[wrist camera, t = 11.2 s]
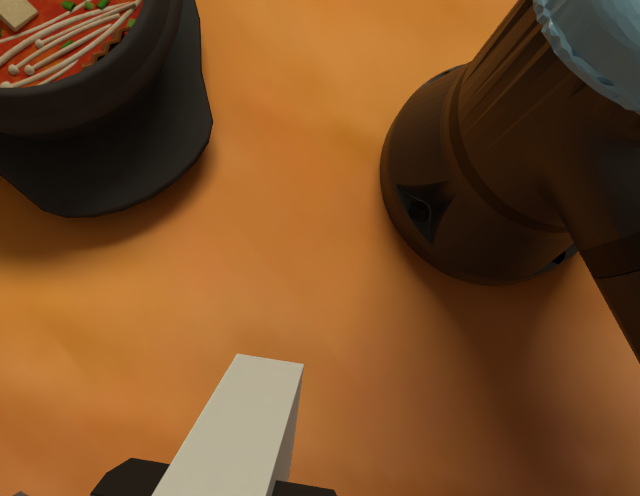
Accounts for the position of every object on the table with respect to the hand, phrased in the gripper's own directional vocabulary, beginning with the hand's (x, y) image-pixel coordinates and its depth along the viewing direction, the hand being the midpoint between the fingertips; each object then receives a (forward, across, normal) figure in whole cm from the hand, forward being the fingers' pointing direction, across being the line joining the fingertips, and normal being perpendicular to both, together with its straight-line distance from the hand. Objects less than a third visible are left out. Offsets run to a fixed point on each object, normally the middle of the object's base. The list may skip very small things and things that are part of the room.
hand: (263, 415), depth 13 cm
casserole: (+27, -20, +9) cm, 35 cm away
